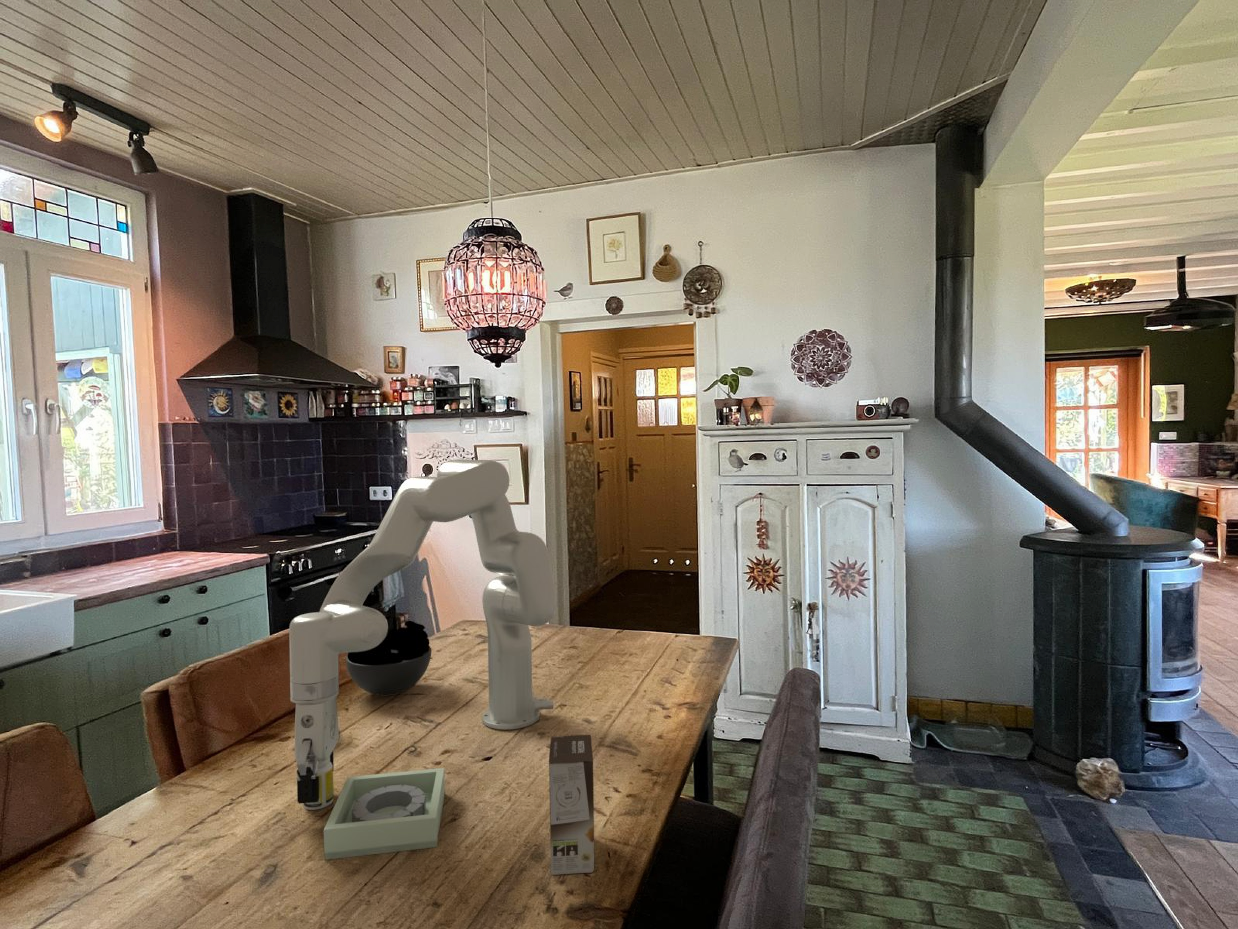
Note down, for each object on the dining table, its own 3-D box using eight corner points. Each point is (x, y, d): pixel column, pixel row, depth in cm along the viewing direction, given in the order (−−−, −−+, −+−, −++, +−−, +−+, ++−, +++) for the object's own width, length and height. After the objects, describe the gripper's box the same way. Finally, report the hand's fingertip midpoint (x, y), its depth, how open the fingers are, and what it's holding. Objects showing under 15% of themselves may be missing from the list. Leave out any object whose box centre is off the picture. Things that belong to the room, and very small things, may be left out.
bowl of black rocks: (335, 691, 168) (333, 616, 167) (414, 673, 180) (412, 603, 179) (362, 716, 152) (359, 633, 151) (445, 694, 164) (444, 618, 164)
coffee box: (595, 873, 95) (594, 761, 95) (550, 876, 95) (548, 763, 94) (592, 835, 104) (591, 733, 104) (551, 838, 104) (549, 735, 103)
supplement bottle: (328, 793, 118) (326, 745, 118) (338, 803, 115) (336, 754, 115) (299, 803, 115) (297, 754, 115) (308, 814, 112) (307, 764, 111)
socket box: (444, 793, 118) (444, 767, 118) (436, 847, 102) (435, 817, 102) (348, 803, 115) (347, 777, 115) (324, 860, 99) (323, 830, 99)
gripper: (325, 704, 106) (327, 812, 107) (349, 669, 124) (350, 762, 124) (274, 708, 105) (276, 816, 106) (305, 672, 122) (307, 765, 123)
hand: (316, 787), depth 115 cm, fingers open, 9 cm apart
